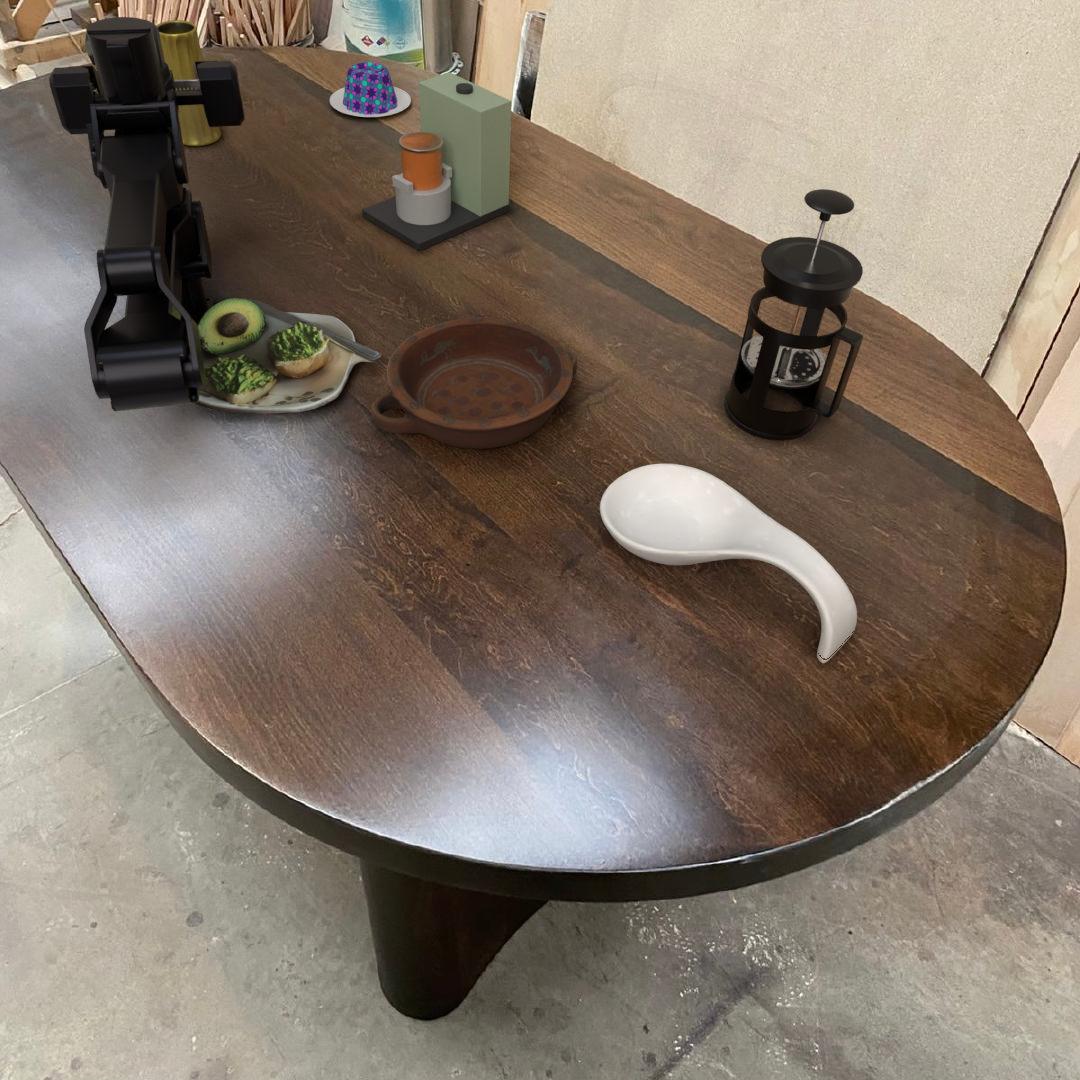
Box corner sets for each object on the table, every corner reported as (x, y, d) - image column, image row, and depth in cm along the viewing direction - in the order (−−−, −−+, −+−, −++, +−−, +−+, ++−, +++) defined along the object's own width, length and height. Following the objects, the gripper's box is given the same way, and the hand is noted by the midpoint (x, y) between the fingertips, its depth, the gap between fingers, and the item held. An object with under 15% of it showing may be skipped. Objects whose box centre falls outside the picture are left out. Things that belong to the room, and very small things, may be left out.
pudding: (425, 99, 146) (424, 62, 142) (385, 128, 138) (382, 91, 134) (357, 82, 149) (354, 46, 145) (314, 110, 141) (309, 73, 137)
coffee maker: (419, 251, 116) (413, 130, 105) (362, 216, 121) (351, 98, 110) (508, 211, 123) (511, 95, 113) (451, 180, 129) (449, 66, 118)
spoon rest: (570, 537, 84) (576, 477, 79) (651, 473, 91) (662, 413, 85) (802, 694, 74) (827, 637, 69) (876, 609, 80) (904, 551, 75)
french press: (700, 408, 98) (747, 194, 81) (748, 368, 103) (802, 158, 86) (802, 461, 93) (874, 245, 76) (847, 416, 98) (924, 204, 81)
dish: (620, 425, 95) (625, 385, 92) (417, 497, 87) (415, 455, 83) (532, 333, 105) (534, 293, 102) (342, 390, 97) (337, 349, 93)
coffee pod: (448, 189, 116) (447, 149, 113) (405, 193, 115) (402, 152, 112) (439, 169, 120) (438, 129, 116) (398, 173, 119) (395, 133, 115)
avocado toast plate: (395, 325, 105) (392, 288, 102) (363, 431, 93) (359, 393, 89) (218, 310, 105) (210, 272, 102) (164, 414, 93) (152, 375, 89)
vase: (201, 123, 137) (178, 15, 126) (230, 136, 134) (210, 27, 124) (166, 137, 133) (140, 27, 123) (196, 151, 131) (172, 39, 120)
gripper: (227, 37, 94) (225, -13, 104) (22, 44, 90) (41, -8, 101) (247, 150, 102) (243, 93, 112) (59, 160, 98) (73, 101, 109)
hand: (153, 69), depth 108 cm, fingers open, 9 cm apart
